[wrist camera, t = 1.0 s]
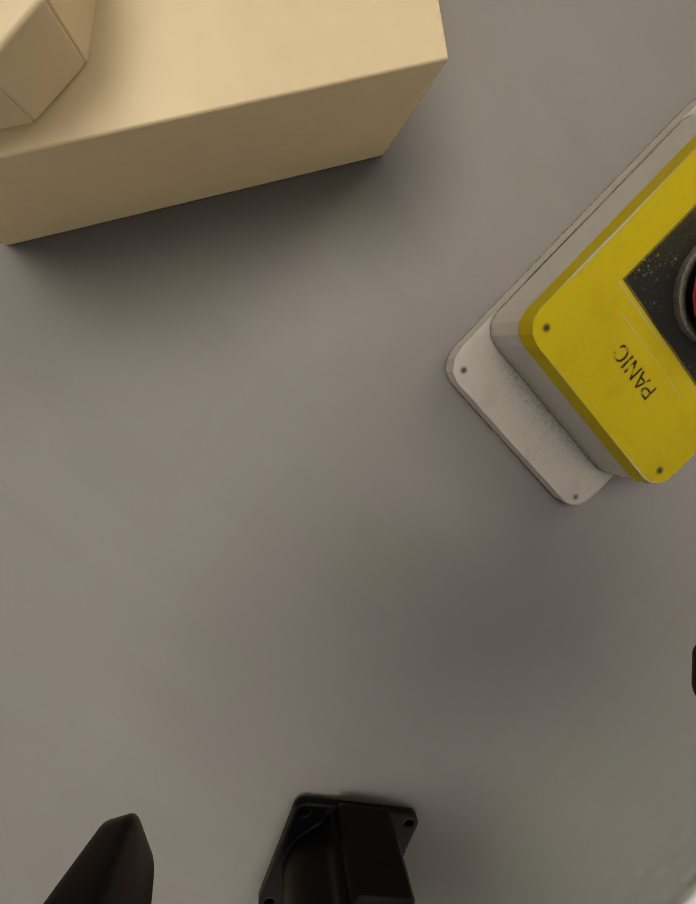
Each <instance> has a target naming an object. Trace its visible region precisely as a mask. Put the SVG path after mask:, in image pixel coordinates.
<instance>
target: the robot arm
mask: <svg viewBox="0 0 696 904" xmlns="http://www.w3.org/2000/svg"><path fill="white" fill-rule="evenodd" d="M692 688H693V691H694V693H695V695H696V645H695V647H694V648H693V652H692ZM417 824H418V819H417V816H416V813H415V811H414V810H413V809H411V808H405V807H396V806H388V805H379V804H370V803H361V802H353V801H344V800H335V799H326V798H318V797H309V796H303V797H300V798H298V799H297V800H296V801H295V803H294V805H293V807H292V810H291V812H290V815H289V817H288V820H287V822H286V825H285V828H284V830H283V833H282V835H281V838H280V840H279V843H278V845H277V848H276V850H275V853H274V856H273V858H272V861H271V863H270V866H269V868H268V871H267V873H266V876H265V879H264V881H263V884H262V886H261V889H260V891H259V904H415V899H414V895H413V891H412V888H411V884H410V881H409V877H408V873H407V870H406V866H405V862H404V859H403V856H404V853H405V851H406V849H407V847H408V845H409V842H410V840H411V838H412V836H413V833H414V831H415V829H416V827H417ZM153 879H154V861H153V855H152V852H151V849H150V846H149V843H148V841H147V838H146V835H145V832H144V830H143V827H142V824H141V822H140V819H139V817H138V816H137V815H136V814H134V813H130V814H127V815H123V816H120V817H117V818H113V819H110V820H108V821H106V822H104V823H103V824H102V825H101V826H100V828H99V829H98V830H97V831H96V833H95V834H94V836H93V837H92V838H91V840H90V841H89V842H88V844H87V845H86V846H85V848H84V849H83V851H82V852H81V853H80V855H79V856H78V857H77V859H76V860H75V861H74V863H73V864H72V866H71V867H70V868H69V870H68V871H67V872H66V874H65V875H64V876H63V878H62V879H61V880H60V882H59V883H58V885H57V886H56V887H55V889H54V890H53V891H52V893H51V894H50V895H49V897H48V898H47V900H46V901H45V902H44V904H151V901H152V890H153Z"/></svg>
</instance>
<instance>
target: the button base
mask: <svg viewBox="0 0 696 904" xmlns="http://www.w3.org/2000/svg"><path fill="white" fill-rule="evenodd" d="M447 59H448V54H447V48H446V43H445V37H444V31H443V25H442V19H441V13H440V7H439V1H438V0H0V243H1V244H4V245H11V244H15V243H19V242H24V241H28V240H32V239H36V238H40V237H44V236H49V235H53V234H57V233H61V232H65V231H69V230H73V229H78V228H82V227H86V226H90V225H94V224H98V223H103V222H107V221H111V220H115V219H119V218H123V217H128V216H132V215H136V214H140V213H144V212H148V211H153V210H157V209H161V208H165V207H169V206H173V205H178V204H182V203H186V202H190V201H194V200H198V199H203V198H207V197H211V196H215V195H219V194H223V193H227V192H232V191H236V190H240V189H244V188H248V187H252V186H257V185H261V184H265V183H269V182H273V181H277V180H282V179H286V178H290V177H294V176H298V175H302V174H307V173H311V172H315V171H319V170H323V169H327V168H332V167H336V166H340V165H344V164H348V163H352V162H357V161H361V160H365V159H369V158H373V157H377V156H381V155H383V154H384V153H385V151H386V150H387V148H388V147H389V145H390V144H391V143H392V141H393V140H394V138H395V137H396V135H397V134H398V132H399V131H400V129H401V128H402V126H403V125H404V123H405V122H406V120H407V119H408V117H409V116H410V114H411V113H412V111H413V110H414V108H415V107H416V105H417V104H418V102H419V101H420V100H421V98H422V97H423V95H424V94H425V92H426V91H427V89H428V88H429V86H430V85H431V83H432V82H433V80H434V79H435V77H436V76H437V74H438V73H439V71H440V70H441V68H442V67H443V65H444V64H445V62H446V61H447Z"/></svg>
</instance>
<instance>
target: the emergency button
mask: <svg viewBox="0 0 696 904" xmlns="http://www.w3.org/2000/svg"><path fill="white" fill-rule="evenodd" d="M446 373H447V375H448V378H449V380H450V382H451V383H452V385H453V386H454V387H455V388H456V389H457V390H458V391H459V392H460V393H461V394H462V396H463V397H464V398H465V399H466V400H467V401H468V402H469V403H470V404H471V405H472V407H473V408H474V409H475V410H476V411H477V412H478V413H479V414H480V415H481V417H482V418H483V419H484V420H485V421H486V422H487V423H488V424H489V425H490V426H491V428H492V429H493V430H494V431H495V432H496V433H497V434H498V435H499V436H500V438H501V439H502V440H503V441H504V442H505V443H506V444H507V445H508V446H509V447H510V449H511V450H512V451H513V452H514V453H515V454H516V455H517V456H518V457H519V458H520V460H521V461H522V462H523V463H524V464H525V465H526V466H527V467H528V468H529V470H530V471H531V472H532V473H533V474H534V475H535V476H536V477H537V478H538V479H539V481H540V482H541V483H542V484H543V485H544V486H545V487H546V488H547V489H548V490H549V492H550V493H551V494H552V495H553V496H554V497H556V498H558V499H560V500H562V501H564V502H566V503H568V504H570V505H576V504H583V503H584V502H586V501H587V500H589V499H590V498H592V497H593V496H594V495H595V494H596V493H597V492H598V491H599V490H600V489H601V488H602V487H603V486H604V485H605V484H606V483H607V482H608V481H609V480H610V479H611V478H612V477H613V476H614V475H619V476H623V477H628V478H632V479H635V480H636V481H640V482H646V483H663V482H664V481H666V480H668V479H669V478H671V477H672V476H673V475H674V474H675V473H676V472H677V471H678V470H679V469H680V468H681V467H682V466H683V465H684V464H685V463H686V462H687V461H688V460H689V459H690V458H691V457H692V456H693V455H694V454H695V453H696V100H694V101H693V102H691V103H690V104H688V105H687V106H686V107H685V108H684V109H683V110H682V111H681V112H680V113H679V114H678V115H677V116H676V118H675V119H674V120H673V121H672V122H671V123H670V124H669V125H668V126H667V127H666V128H665V129H664V130H663V131H662V132H661V133H660V134H659V135H658V136H657V137H656V138H655V139H654V140H653V141H652V142H651V143H650V144H649V145H648V147H647V148H646V149H645V150H644V151H643V152H642V153H641V154H640V155H639V156H638V157H637V158H636V159H635V160H634V161H633V162H632V163H631V164H630V165H629V166H628V167H627V168H626V169H625V170H624V171H623V172H622V173H621V174H620V176H619V177H618V178H617V179H616V180H615V181H614V182H613V183H612V184H611V185H610V186H609V187H608V188H607V189H606V190H605V191H604V192H603V193H602V194H601V195H600V196H599V197H598V198H597V199H596V200H595V201H594V202H593V203H592V205H591V206H590V207H589V208H588V209H587V210H586V211H585V212H584V213H583V214H582V215H581V216H580V217H579V218H578V219H577V220H576V221H575V222H574V223H573V224H572V225H571V226H570V227H569V228H568V229H567V230H566V231H565V232H564V234H563V235H562V236H561V237H560V238H559V239H558V240H557V241H556V242H555V243H554V244H553V245H552V246H551V247H550V248H549V249H548V250H547V251H546V252H545V253H544V254H543V255H542V256H541V257H540V258H539V259H538V260H537V261H536V263H535V264H534V265H533V266H532V267H531V268H530V269H529V270H528V271H527V272H526V273H525V274H524V275H523V276H522V277H521V278H520V279H519V280H518V281H517V282H516V283H515V284H514V285H513V286H512V287H511V288H510V289H509V290H508V292H507V293H506V294H505V295H504V296H503V297H502V298H501V299H500V300H499V301H498V302H497V303H496V304H495V305H494V306H493V307H492V308H491V309H490V310H489V311H488V312H487V313H486V314H485V315H484V316H483V317H482V318H481V319H480V321H479V322H478V323H477V324H476V325H475V326H474V327H473V328H472V329H471V330H470V331H469V332H468V333H467V334H466V335H465V336H464V337H463V338H462V339H461V340H460V341H459V342H458V343H457V344H456V345H455V347H454V348H453V350H452V352H451V353H450V355H449V356H448V358H447V366H446Z"/></svg>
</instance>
